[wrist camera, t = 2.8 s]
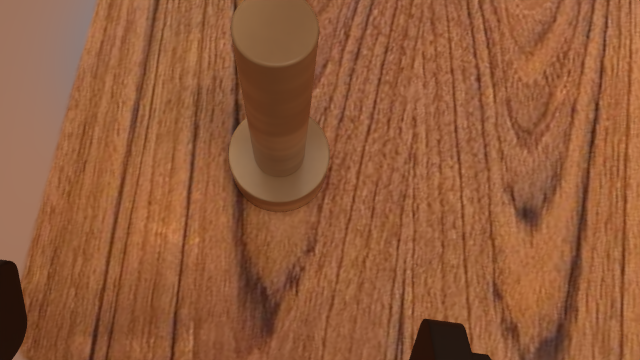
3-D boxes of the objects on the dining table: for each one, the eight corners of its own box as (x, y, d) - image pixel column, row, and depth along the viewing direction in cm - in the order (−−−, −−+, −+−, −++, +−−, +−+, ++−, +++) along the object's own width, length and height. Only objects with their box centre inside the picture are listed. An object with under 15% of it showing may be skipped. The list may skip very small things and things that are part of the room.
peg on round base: (221, 200, 24) (161, 86, 12) (246, 113, 25) (211, -66, 13) (315, 221, 24) (344, 127, 12) (334, 133, 25) (377, -28, 13)
